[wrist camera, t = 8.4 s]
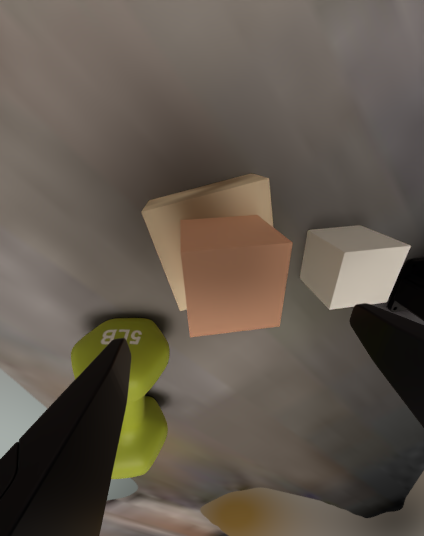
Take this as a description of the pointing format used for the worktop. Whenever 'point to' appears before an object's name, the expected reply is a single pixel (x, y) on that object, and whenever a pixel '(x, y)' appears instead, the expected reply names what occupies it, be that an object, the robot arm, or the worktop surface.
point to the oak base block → (201, 217)
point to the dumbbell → (132, 389)
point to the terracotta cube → (233, 273)
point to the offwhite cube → (351, 265)
